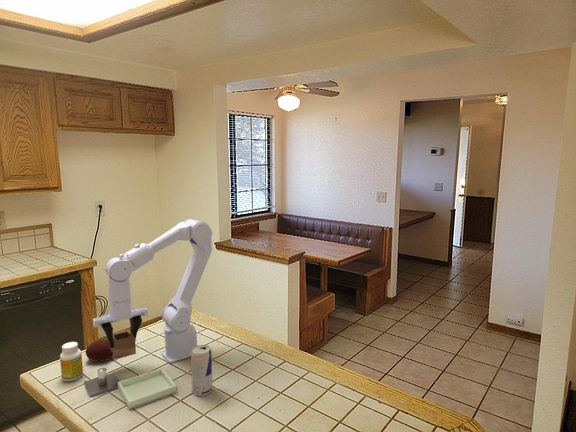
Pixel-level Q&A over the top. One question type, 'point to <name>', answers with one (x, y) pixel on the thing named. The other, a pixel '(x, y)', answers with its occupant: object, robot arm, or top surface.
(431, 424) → the top surface
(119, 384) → the tray
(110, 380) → the light stand
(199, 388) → the energy drink
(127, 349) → the brown wooden box
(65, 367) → the supplement bottle
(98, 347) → the potato
